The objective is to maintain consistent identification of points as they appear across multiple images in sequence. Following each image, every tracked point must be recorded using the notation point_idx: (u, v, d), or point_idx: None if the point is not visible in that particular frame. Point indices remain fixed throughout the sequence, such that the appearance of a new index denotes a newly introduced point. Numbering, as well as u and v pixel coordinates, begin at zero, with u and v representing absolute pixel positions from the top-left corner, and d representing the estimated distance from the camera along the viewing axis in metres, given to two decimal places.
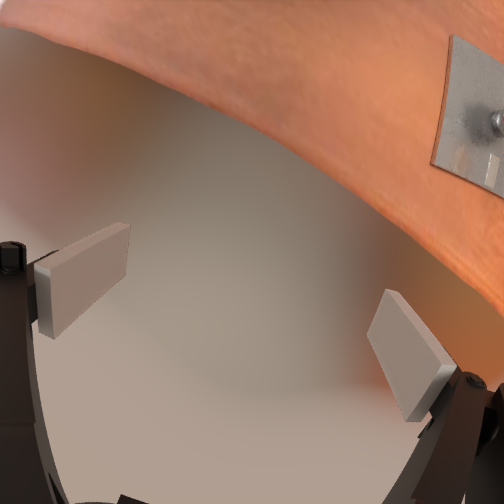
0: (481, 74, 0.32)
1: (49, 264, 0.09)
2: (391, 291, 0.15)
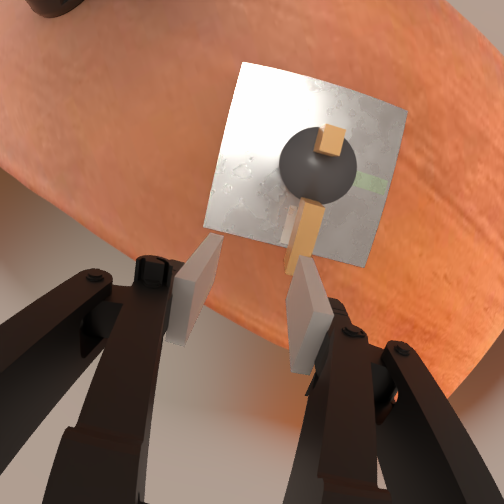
0: (280, 105, 0.36)
1: (189, 276, 0.11)
2: (304, 257, 0.17)
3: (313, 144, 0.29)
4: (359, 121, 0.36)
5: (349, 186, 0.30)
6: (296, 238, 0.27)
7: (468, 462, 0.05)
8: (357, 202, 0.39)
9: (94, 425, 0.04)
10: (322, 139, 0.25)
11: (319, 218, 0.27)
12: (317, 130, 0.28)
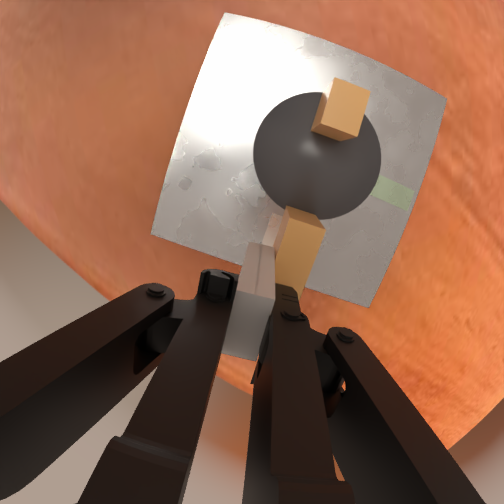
0: (271, 70, 0.24)
1: (249, 289, 0.11)
2: (265, 246, 0.17)
3: (311, 119, 0.17)
4: (382, 103, 0.24)
5: (367, 192, 0.18)
6: None
7: (431, 455, 0.05)
8: (370, 217, 0.27)
9: (142, 436, 0.04)
10: (327, 104, 0.13)
11: (313, 248, 0.15)
12: (319, 97, 0.16)
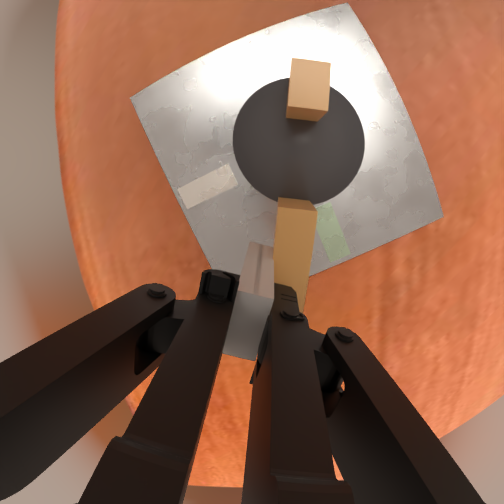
0: (334, 67, 0.23)
1: (250, 289, 0.11)
2: (264, 246, 0.17)
3: (284, 106, 0.17)
4: (390, 168, 0.25)
5: (356, 167, 0.17)
6: None
7: (430, 455, 0.05)
8: None
9: (142, 436, 0.04)
10: (290, 86, 0.13)
11: (309, 232, 0.14)
12: (287, 83, 0.16)
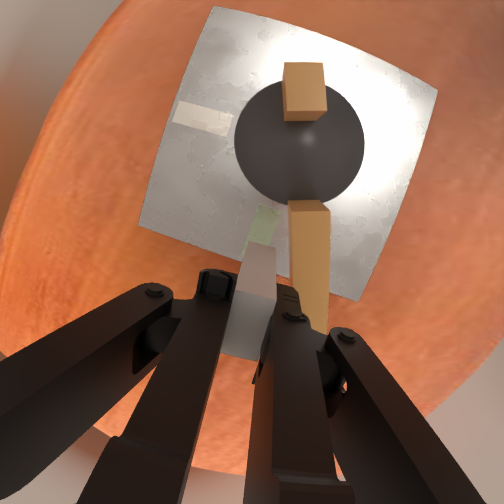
0: (379, 121, 0.24)
1: (248, 289, 0.11)
2: (266, 246, 0.17)
3: (281, 110, 0.17)
4: (349, 229, 0.27)
5: (360, 160, 0.17)
6: (294, 278, 0.15)
7: (432, 455, 0.05)
8: (231, 216, 0.28)
9: (141, 436, 0.04)
10: (287, 90, 0.13)
11: (325, 232, 0.14)
12: (280, 86, 0.16)
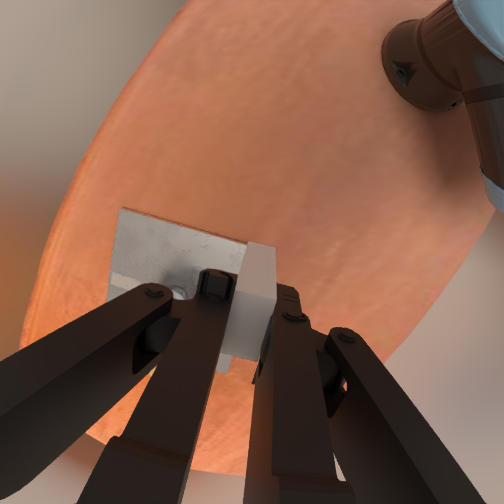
0: None
1: (248, 289, 0.11)
2: (266, 246, 0.17)
3: None
4: None
5: None
6: None
7: (432, 455, 0.05)
8: None
9: (141, 436, 0.04)
10: None
11: None
12: None
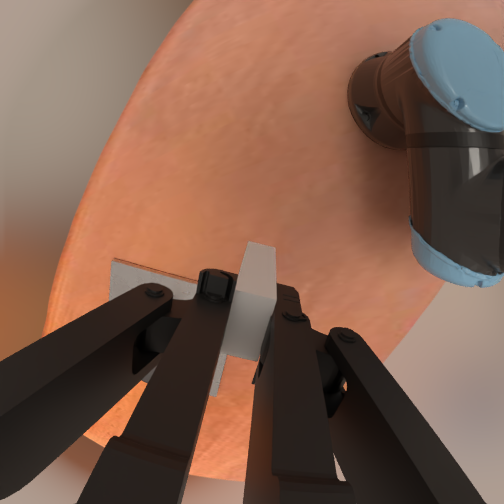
0: None
1: (248, 289, 0.11)
2: (266, 246, 0.17)
3: None
4: None
5: None
6: None
7: (432, 455, 0.05)
8: None
9: (141, 436, 0.04)
10: None
11: None
12: None
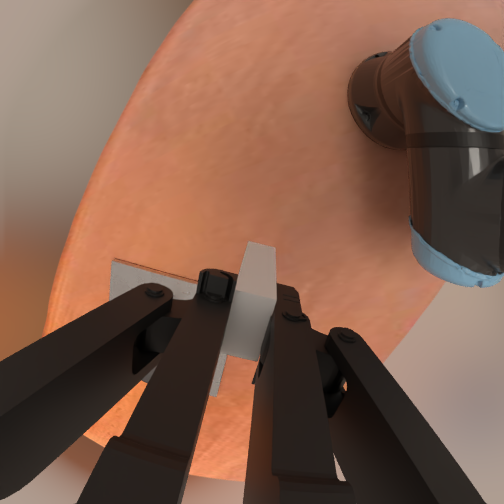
0: None
1: (248, 289, 0.11)
2: (266, 246, 0.17)
3: None
4: None
5: None
6: None
7: (432, 455, 0.05)
8: None
9: (141, 436, 0.04)
10: None
11: None
12: None
